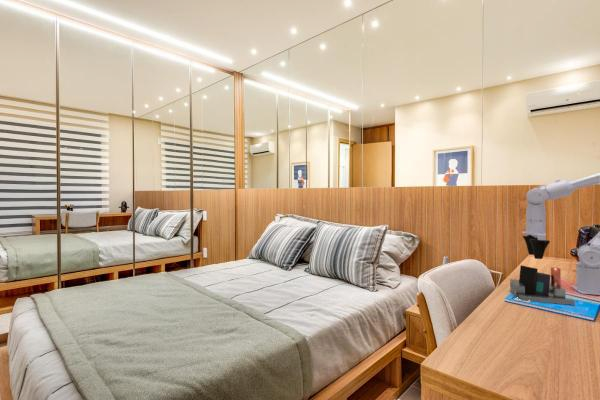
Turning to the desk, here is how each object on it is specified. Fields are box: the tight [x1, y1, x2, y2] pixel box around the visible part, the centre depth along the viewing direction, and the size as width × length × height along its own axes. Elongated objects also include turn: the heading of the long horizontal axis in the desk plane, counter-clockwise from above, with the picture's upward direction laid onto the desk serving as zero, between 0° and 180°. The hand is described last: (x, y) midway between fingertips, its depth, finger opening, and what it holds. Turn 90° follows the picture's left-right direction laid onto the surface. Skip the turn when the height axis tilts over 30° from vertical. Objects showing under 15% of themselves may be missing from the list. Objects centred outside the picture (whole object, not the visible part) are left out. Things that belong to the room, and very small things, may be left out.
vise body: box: [509, 278, 576, 306], centre depth 100 cm, size 14×12×4 cm
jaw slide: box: [548, 266, 566, 298], centre depth 98 cm, size 3×8×10 cm, turn 156°
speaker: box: [518, 264, 551, 297], centre depth 100 cm, size 8×6×10 cm
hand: (535, 256), depth 113 cm, fingers open, 7 cm apart
